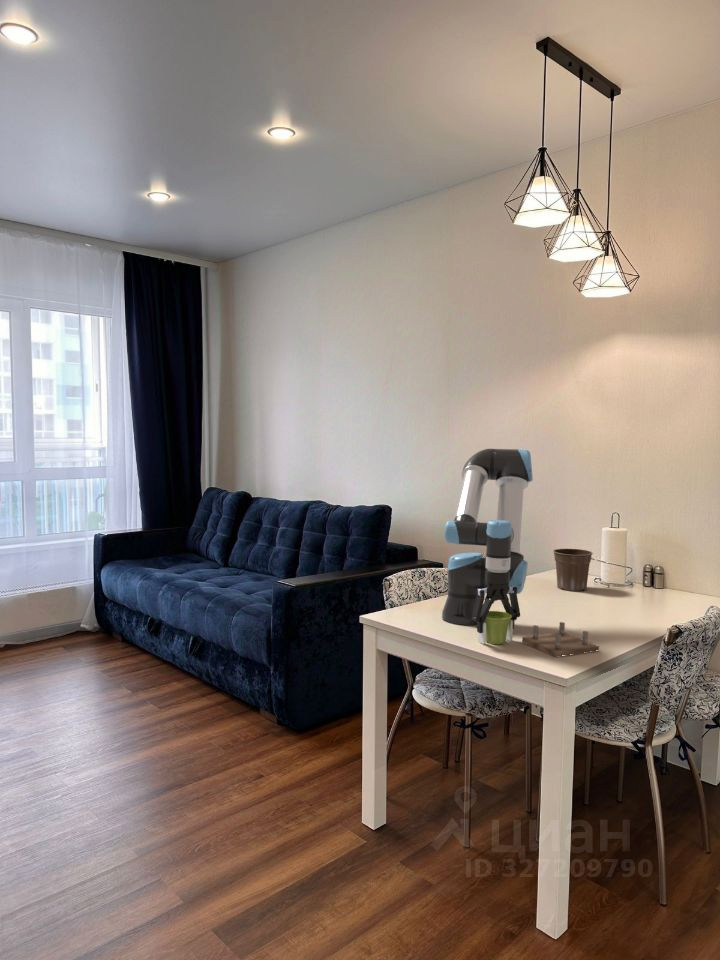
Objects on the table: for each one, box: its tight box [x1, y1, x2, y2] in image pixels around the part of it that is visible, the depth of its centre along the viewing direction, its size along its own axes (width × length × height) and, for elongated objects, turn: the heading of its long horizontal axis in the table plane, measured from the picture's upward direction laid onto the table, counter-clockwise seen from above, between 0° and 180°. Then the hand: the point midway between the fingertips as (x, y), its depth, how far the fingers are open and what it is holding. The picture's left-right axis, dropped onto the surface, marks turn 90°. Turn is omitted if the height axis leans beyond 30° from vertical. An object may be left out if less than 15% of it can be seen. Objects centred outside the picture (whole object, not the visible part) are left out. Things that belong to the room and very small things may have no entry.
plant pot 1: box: [484, 610, 512, 645], centre depth 210 cm, size 9×9×9 cm
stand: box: [521, 621, 600, 657], centre depth 207 cm, size 16×16×6 cm
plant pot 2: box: [552, 548, 594, 592], centre depth 290 cm, size 16×16×16 cm
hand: (495, 641), depth 211 cm, fingers open, 9 cm apart
